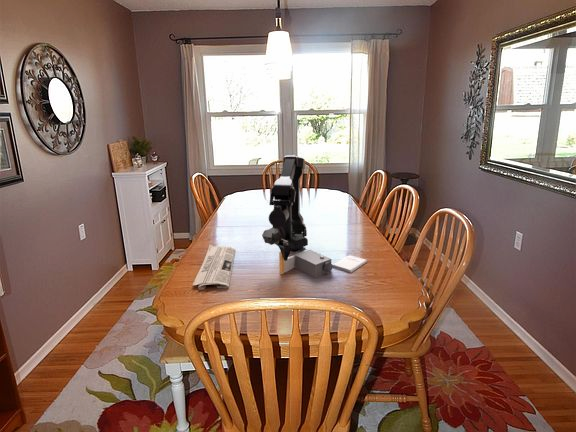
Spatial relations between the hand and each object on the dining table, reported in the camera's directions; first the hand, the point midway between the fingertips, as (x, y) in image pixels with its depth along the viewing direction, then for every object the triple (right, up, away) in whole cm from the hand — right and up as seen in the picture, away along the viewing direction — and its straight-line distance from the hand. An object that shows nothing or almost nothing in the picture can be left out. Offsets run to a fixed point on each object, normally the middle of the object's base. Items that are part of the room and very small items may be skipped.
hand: (285, 260), depth 136 cm
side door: (+1, -4, +6) cm, 7 cm away
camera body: (+10, -4, +7) cm, 13 cm away
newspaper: (-27, -5, +9) cm, 29 cm away
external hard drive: (+25, -4, +11) cm, 27 cm away
